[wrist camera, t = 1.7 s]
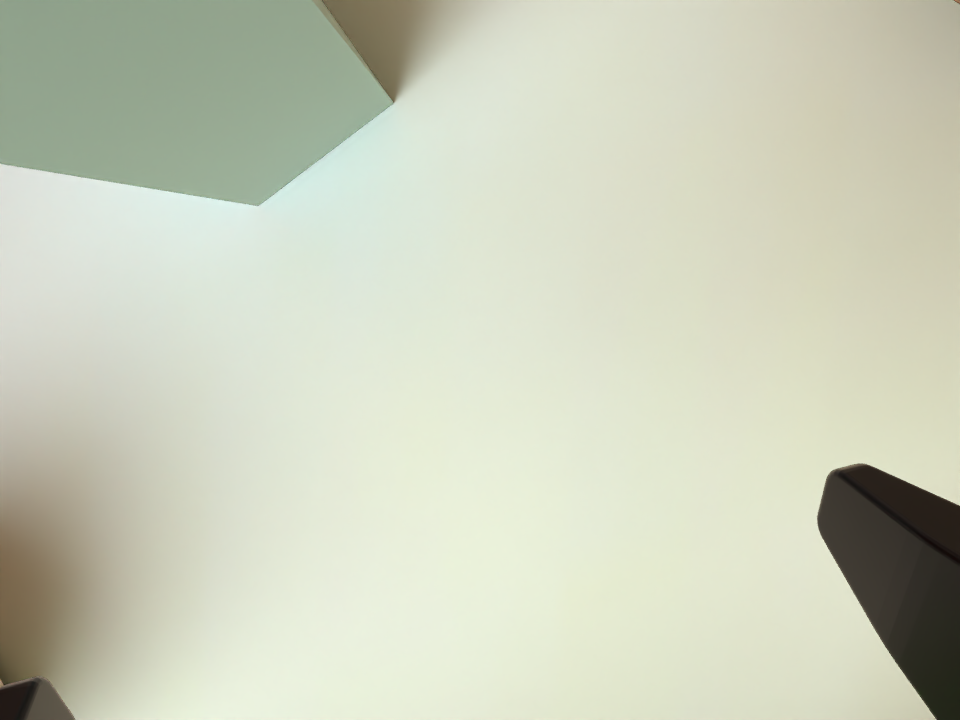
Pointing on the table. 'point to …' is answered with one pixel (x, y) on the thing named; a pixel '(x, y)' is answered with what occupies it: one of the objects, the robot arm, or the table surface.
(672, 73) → the table surface
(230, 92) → the pillar
